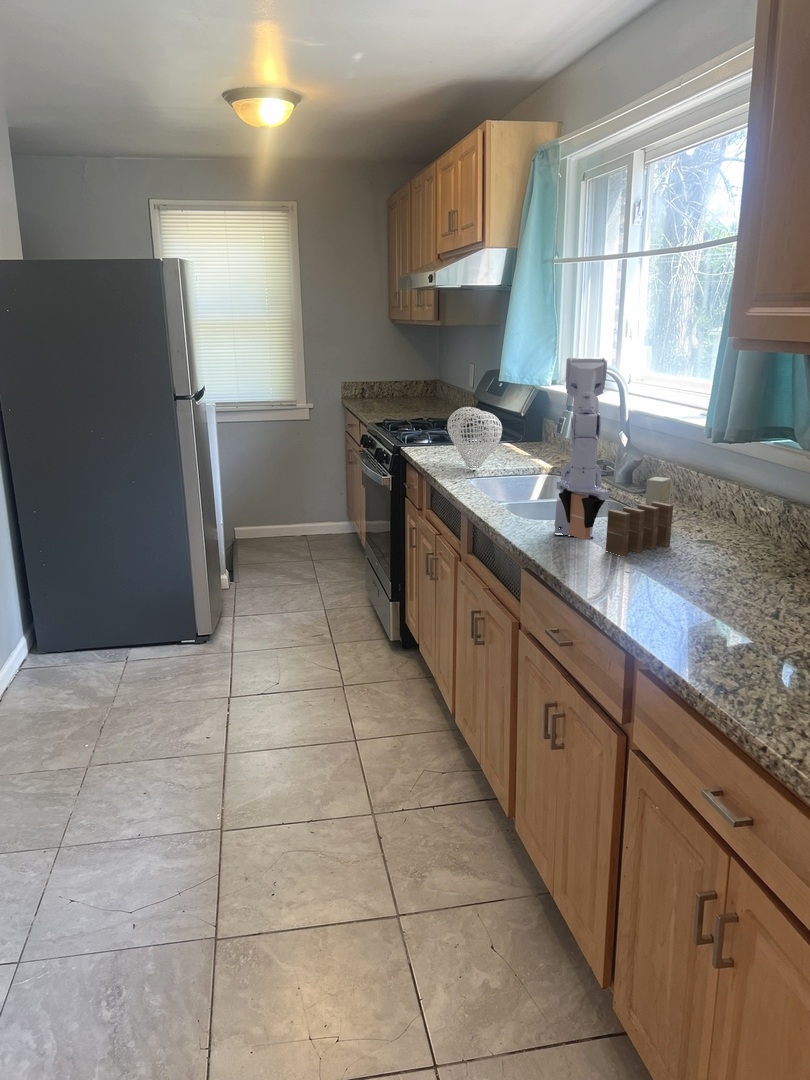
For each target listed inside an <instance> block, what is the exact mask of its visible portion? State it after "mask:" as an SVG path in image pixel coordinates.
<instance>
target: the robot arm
mask: <svg viewBox="0 0 810 1080" xmlns="http://www.w3.org/2000/svg"><path fill="white" fill-rule="evenodd" d="M607 369H608V360H607V358H606V357H605V356H604V357H568V358H567V359H566V365H565V389H566V393H567V395H569V396H572V398H573V401H572V404H573V405H572V406H573V407H572V416H571V418H570V431H569V432H570V433H569V436H570V447H571V450H570V452H571V453H570V461H568V462H567V463H565V464H564V465H563V466H562V468H561V474H560V480H557V481H556V490H559V491H560V492H559V493H558V497H559V498H557V499H556V506H555V520H554V534H555V533H562V534H563V535H569V529H570V509H571V494H572V493H578V494H583V495H587V496H588V497H586V498H582V499H581V500H582V503H583V507H584V526H585V528H590V537H593V538H594V536H595V531H596V529H595V528H594V525H595V521H596V519H597V517H598V513H599V510H601V508H602V506H603V504H604V502H606V500H609V498H610V490H607V489H605V488H602V469H601V467H600V465H598V463H597V458H598V457H597V456H598V454H597V453H598V442H599V440H600V436H601V429H602V428H601V427H602V418H601V414H600V411H599V398H598V396H600V395H602V394H603V393H604V390H605V386H606V381H607V371H608V370H607ZM559 528H560V529H559Z"/></svg>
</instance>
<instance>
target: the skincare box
mask: <svg viewBox="0 0 810 1080" xmlns="http://www.w3.org/2000/svg"><path fill="white" fill-rule="evenodd" d="M671 480H672V479H671V477H661V476H660V477H659V476H654V477H650V478H649V479H647V480H646V492H645V502H644V503H645V505H649V506H651V505H652V502H655V501H657V502H661V503H666V504H670V490H671Z"/></svg>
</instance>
